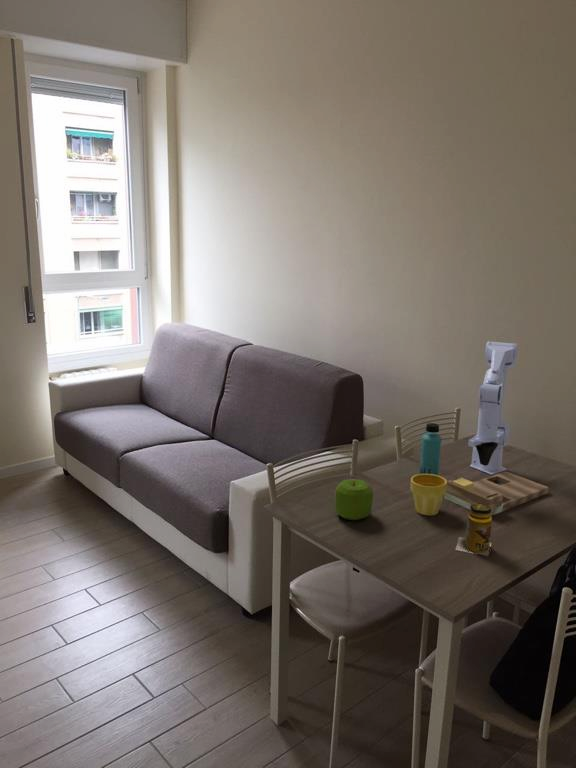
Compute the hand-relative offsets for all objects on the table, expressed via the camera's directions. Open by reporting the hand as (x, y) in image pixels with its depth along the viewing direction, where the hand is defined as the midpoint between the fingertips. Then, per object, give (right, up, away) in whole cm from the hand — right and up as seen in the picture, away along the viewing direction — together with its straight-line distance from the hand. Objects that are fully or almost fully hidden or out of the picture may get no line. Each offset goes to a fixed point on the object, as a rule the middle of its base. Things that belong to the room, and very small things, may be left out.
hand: (484, 464), depth 201 cm
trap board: (+4, -10, +1) cm, 11 cm away
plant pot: (-20, -13, -9) cm, 25 cm away
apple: (-42, -13, -13) cm, 46 cm away
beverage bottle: (-15, -7, +11) cm, 20 cm away
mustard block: (-7, -9, -3) cm, 12 cm away
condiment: (-12, -18, -30) cm, 37 cm away
